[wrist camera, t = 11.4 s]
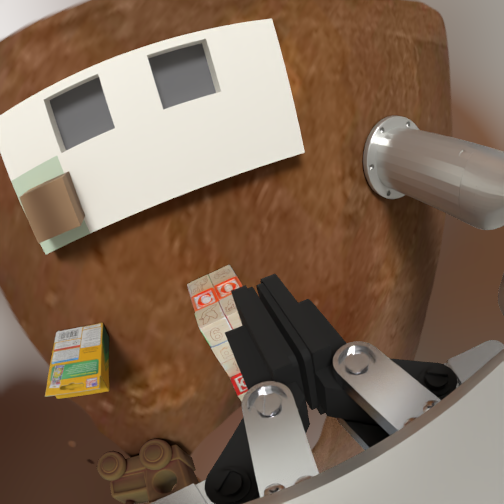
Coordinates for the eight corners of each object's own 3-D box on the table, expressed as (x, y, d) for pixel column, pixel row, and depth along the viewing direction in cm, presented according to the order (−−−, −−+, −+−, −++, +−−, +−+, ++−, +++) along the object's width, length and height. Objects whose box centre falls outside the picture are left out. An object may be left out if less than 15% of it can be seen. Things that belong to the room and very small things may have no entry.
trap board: (263, 23, 28) (271, 18, 26) (294, 149, 36) (304, 152, 34) (-1, 120, 23) (-10, 121, 21) (50, 245, 31) (45, 254, 29)
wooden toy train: (173, 429, 51) (194, 505, 36) (197, 451, 56) (218, 516, 42) (90, 452, 47) (97, 522, 33) (120, 473, 53) (131, 534, 39)
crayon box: (64, 347, 36) (55, 411, 27) (55, 331, 35) (42, 395, 25) (110, 338, 38) (110, 404, 29) (103, 321, 37) (100, 387, 27)
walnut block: (68, 171, 26) (62, 177, 24) (85, 215, 29) (80, 225, 26) (28, 189, 25) (19, 197, 23) (46, 232, 28) (38, 243, 25)
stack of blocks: (184, 283, 39) (205, 347, 29) (229, 262, 40) (265, 319, 29) (238, 379, 50) (264, 436, 39) (271, 363, 51) (303, 417, 40)
